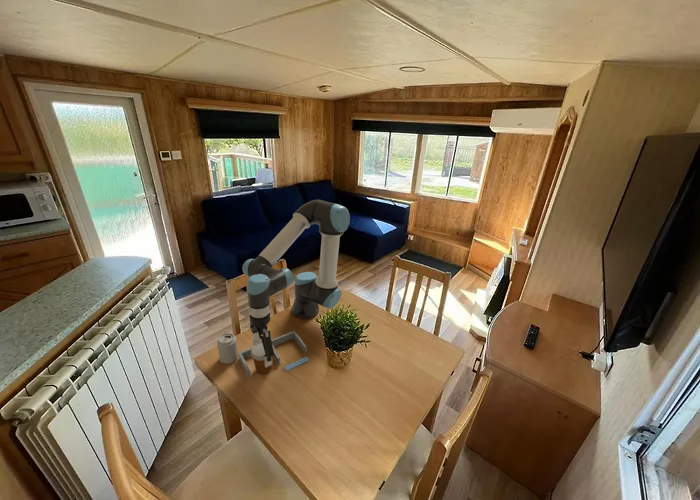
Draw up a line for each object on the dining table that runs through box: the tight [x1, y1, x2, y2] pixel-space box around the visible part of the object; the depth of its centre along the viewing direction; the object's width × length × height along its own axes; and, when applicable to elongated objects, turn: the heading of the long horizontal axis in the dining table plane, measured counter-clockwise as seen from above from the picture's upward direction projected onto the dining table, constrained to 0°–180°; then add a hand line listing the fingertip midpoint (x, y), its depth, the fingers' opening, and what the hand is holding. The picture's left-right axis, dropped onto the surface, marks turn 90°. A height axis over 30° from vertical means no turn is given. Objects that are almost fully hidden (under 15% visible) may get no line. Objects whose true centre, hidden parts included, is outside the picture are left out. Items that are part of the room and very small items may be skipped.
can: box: [216, 332, 239, 364], centre depth 121 cm, size 8×8×12 cm
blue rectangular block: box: [283, 356, 310, 372], centre depth 123 cm, size 11×2×1 cm, turn 127°
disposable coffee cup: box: [250, 340, 276, 376], centre depth 117 cm, size 10×10×12 cm
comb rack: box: [238, 330, 308, 379], centre depth 126 cm, size 27×12×4 cm, turn 127°
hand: (262, 354), depth 116 cm, fingers open, 13 cm apart
